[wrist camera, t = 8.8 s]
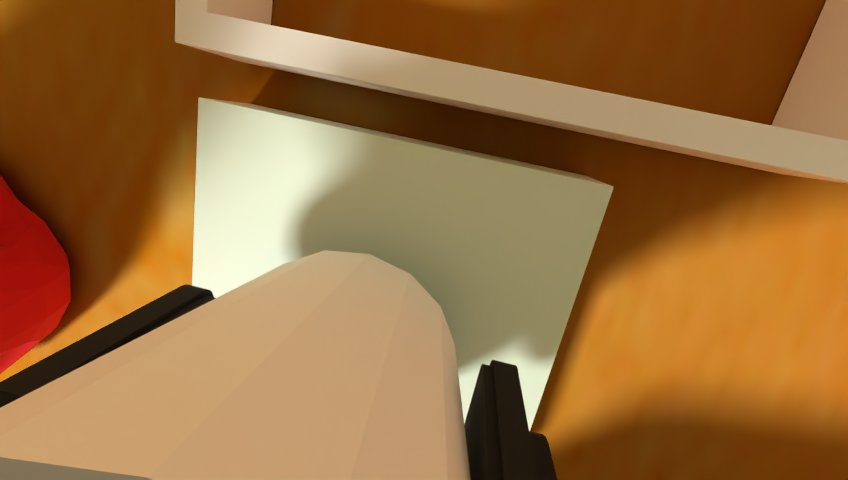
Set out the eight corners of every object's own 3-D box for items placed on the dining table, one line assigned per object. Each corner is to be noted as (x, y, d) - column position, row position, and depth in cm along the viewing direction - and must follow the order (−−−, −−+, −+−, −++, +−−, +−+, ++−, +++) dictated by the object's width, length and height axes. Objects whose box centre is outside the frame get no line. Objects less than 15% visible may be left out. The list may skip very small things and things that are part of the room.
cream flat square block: (586, 175, 12) (614, 186, 10) (497, 454, 15) (501, 514, 13) (249, 103, 13) (198, 97, 10) (230, 384, 16) (187, 429, 14)
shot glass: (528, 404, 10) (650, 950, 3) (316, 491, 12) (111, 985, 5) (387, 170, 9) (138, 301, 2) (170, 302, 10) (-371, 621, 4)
